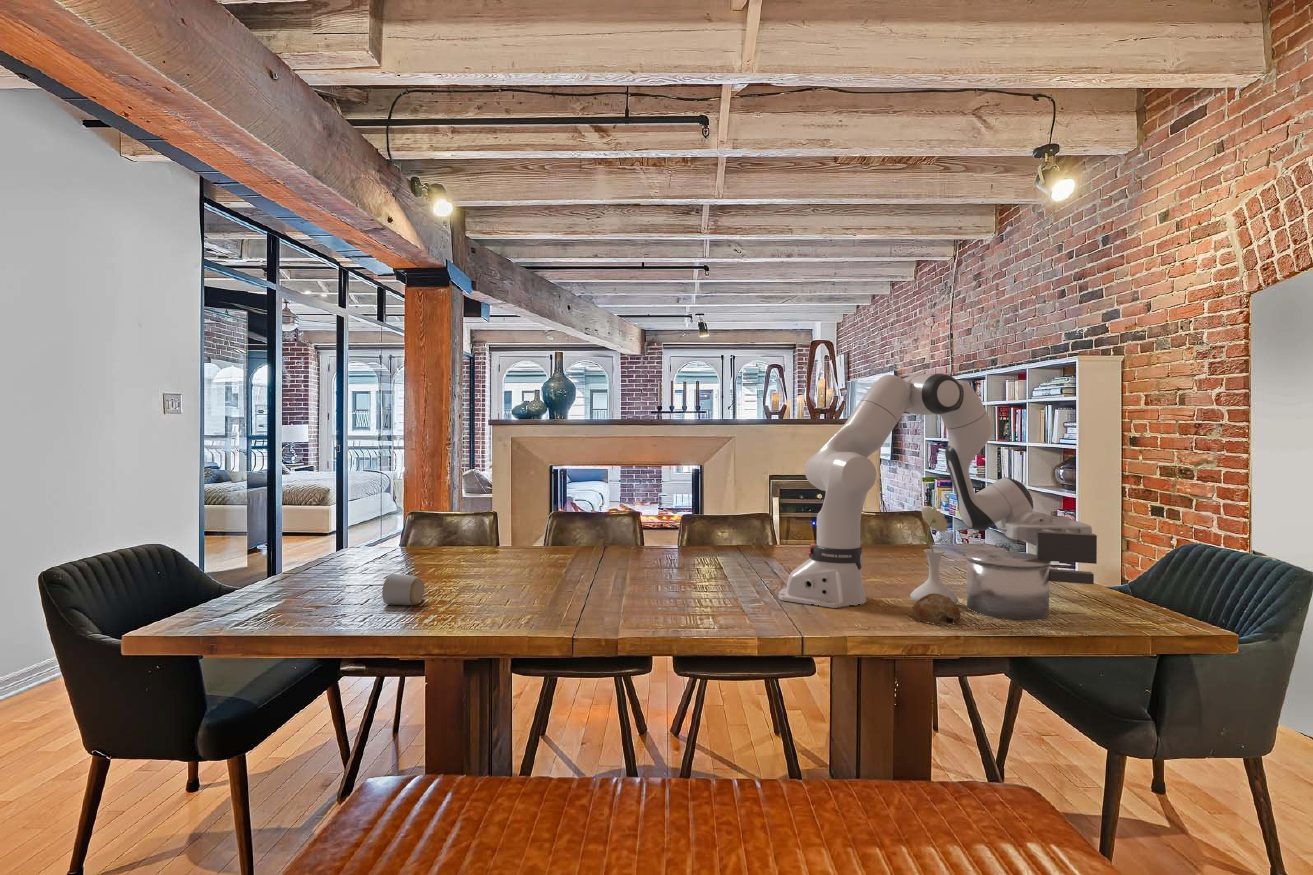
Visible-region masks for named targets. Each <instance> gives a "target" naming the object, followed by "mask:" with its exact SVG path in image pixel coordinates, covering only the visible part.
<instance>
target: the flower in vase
mask: <svg viewBox="0 0 1313 875" xmlns="http://www.w3.org/2000/svg"><path fill="white" fill-rule="evenodd" d="M921 514H922V515H921V517H922V519H923V520H924V522H925V523H927V525H928V529H927V532H926V535H924V534H921V537H920V538H919V541H922V542H923V543H926V544H929V547H930V549H929V548H926V549H923V552H924V554H925V555H926V558H927V562H928V568H929V569H928V571H929V572H928V578H927V579H926V581H925V582H923V583H922V584H921V585H919V586H917V587H916V588H915V589H913V591H912V592H911V593H910V595H909V596H910V599H911V601H913V602H915V603H917V601H918V600H919V599H921V598H922V597H924V596H926V595H928V594H934V593H935V594H940V595H944V596H945V597H949V598H950V599H951V601H952V602H954V603H955V604H956V605H957V603H959V599H958V596H957V595H956V594H955V593H954V592H953V591H952V590H951V589H949V587H947V586H946V585H945V584H944V583H943V582H942V581H941V579H940V575H939V574H940V573H939V571H940V570H939V569H940V562H941V559H942V557H943V556H944V554H945V552H946V551H944V550H943V549H936V548H933V546H932V545H934V544H936V543H939V542H941V541H942V540H943V537H941V538H940V539H939V540H937V541H934V542H933V543H931V541H930V538H929V533H930V529H932V530H935V531H936V532H940V533H943V532H944V533H945V532H947V531H948V527H949V523H948V522H947V521H948V520H947V519H946V518H945V517H946V516H945V514H944V513H942V512H941V511H940V510H937V508H936V507H931V506H930V505H927V506H926V507H923V508H921Z"/></svg>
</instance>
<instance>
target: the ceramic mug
mask: <svg viewBox="0 0 1313 875" xmlns="http://www.w3.org/2000/svg"><path fill="white" fill-rule="evenodd" d="M381 591H382V592H381V594H382V597H381V598H382V600H383V602H384V604H386V605H392V606H409V605H410V606H417V605H418V604H419V603H420V602H421V601H422V599H423V598H424V594H425V584H424V581H423V579H422V578H421V577H419V576H415V575H406V574H405V575H404V574H398V573H390V574H389V575H387V577H386V578H385V580H384V581H383V585H382V590H381Z"/></svg>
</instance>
